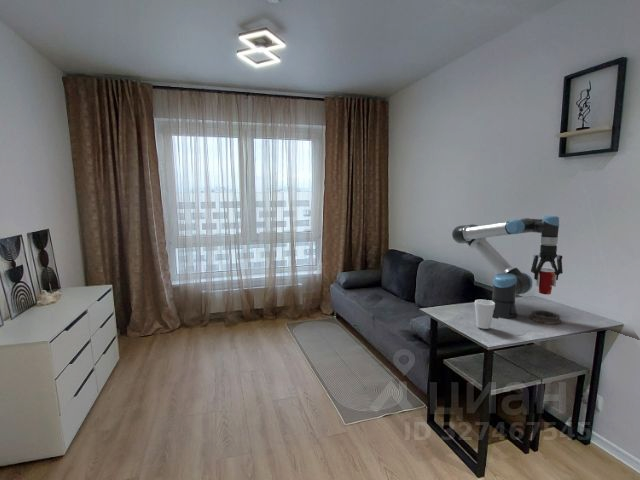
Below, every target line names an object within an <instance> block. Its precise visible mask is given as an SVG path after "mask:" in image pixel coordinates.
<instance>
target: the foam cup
mask: <svg viewBox="0 0 640 480" xmlns="http://www.w3.org/2000/svg"><path fill="white" fill-rule="evenodd" d="M494 308H495V303H494V302H492V300H489V299H488V300H487V299H475V300H474V309H475V310H474V311H475V321H476V327H478V328H480V329H485V330H489V329H490V328H491V325H492V321H493V311H494Z"/></svg>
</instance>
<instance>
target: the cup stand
mask: <svg viewBox="0 0 640 480" xmlns="http://www.w3.org/2000/svg"><path fill="white" fill-rule="evenodd" d="M531 312H532V313H531V314H530V315H529V318H530V319H531V320H532V321H534V322H537V323H541V324H545V325H553V326H554V325H555V326H556V325H559V324H561V321H562V320H561V319H560V315H559V314H557V313H555V312H551V311H546V310H533V311H531Z"/></svg>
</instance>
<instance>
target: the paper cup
mask: <svg viewBox="0 0 640 480" xmlns="http://www.w3.org/2000/svg"><path fill="white" fill-rule="evenodd" d="M554 272H555V270H554V268H552V267H548V266H547V267H546V266H542V268H541V270H540V272H539V274H540V281H539V286H538V293H539V294H542V295H548V296H549V295H551V294H552V289H553V286H552V284H553V278H554V274H555V273H554Z"/></svg>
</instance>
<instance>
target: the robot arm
mask: <svg viewBox="0 0 640 480" xmlns="http://www.w3.org/2000/svg"><path fill="white" fill-rule="evenodd" d="M559 227H560V217H559V216H555V215H543V216H542V218H541V219H539V218H528V217H525V218H524V217H523V218H520V219H512V220H509V221H500V222H496V223H495V222H494V223H488V224H483V225H478V224H473V223H472V224H465V225H458V226H456V227H455V228H453V230H452V233H451V236H452V239H453V241H455V242H456V243H458V244H466V245H468V246H469V247H470V249H474V250H475V251H477V252H478V254H479V255H480V256H481V257H482V258H483V260H485V261H486V262H487V264H489V266H491V267H492V269H493V270H495V272H496V273H497V274H495V275H494V276H493V280H492V296H491V297H492V299H491V301H492V302H494V303H495V308H494V311H493V316H492V318H495V319H499V318H500V319H506V320H507V319H510V320H511V319H512V320H513V319H516V318H518V314H519V313H518V309H517V305H516V298H517V297H516V296H519V295H524V294H526V293H528V292H530V291H531V290H532V288H533V279H534V281H535V286H537V287H539V281H540V274H539V272H540V270H541V268H542V267H544V264H545V263H547V262H549V263H550V265H551V268H554V270H555V272H554V278H553V284H552V287H554V288H555V287H557V281H559V275H561V274H563V262H562V261H563V255H560V254H557V252H558V246H557V245H558V237H559ZM526 233H538V234H541V235H540V246H539V247H540V248H539V254H533V255H532V256H533V261H532V264H531V269H530V272H531V273H533V278H532V277H531V276H530V275H529V274H528V273H525V272H522V271H520V269H518V267H515V266H512V264H510V263H509V262H508V260H506V258H505V257H503V255H501V254H500V252H499V251H497V249H496V248H495V247H493V245H492V244H491V243H490V242H489V241H488V240H487V238H492V237H501V236H508V235H518V234H526ZM555 259H556V261H555ZM556 264H557V265H556Z"/></svg>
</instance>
